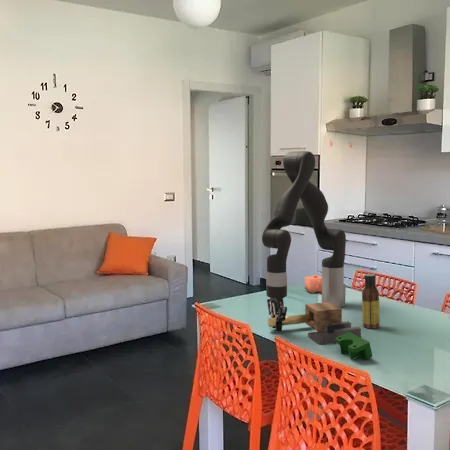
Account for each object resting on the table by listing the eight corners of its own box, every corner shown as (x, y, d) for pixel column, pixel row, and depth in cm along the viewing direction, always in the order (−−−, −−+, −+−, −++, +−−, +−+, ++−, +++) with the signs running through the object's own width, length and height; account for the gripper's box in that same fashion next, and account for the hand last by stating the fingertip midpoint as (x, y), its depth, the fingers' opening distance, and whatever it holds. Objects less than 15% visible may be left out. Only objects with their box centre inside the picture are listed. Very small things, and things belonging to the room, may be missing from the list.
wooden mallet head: (328, 320, 203) (328, 301, 202) (341, 328, 194) (341, 308, 193) (305, 323, 200) (305, 304, 199) (317, 331, 191) (317, 311, 190)
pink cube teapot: (317, 288, 256) (317, 271, 255) (327, 294, 245) (327, 276, 244) (302, 289, 255) (302, 272, 254) (311, 295, 243) (311, 278, 242)
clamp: (342, 365, 170) (331, 338, 171) (357, 358, 172) (346, 332, 173) (360, 364, 159) (347, 335, 160) (376, 356, 160) (363, 328, 162)
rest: (347, 331, 189) (348, 321, 189) (361, 339, 181) (361, 328, 180) (307, 336, 185) (307, 325, 184) (319, 345, 176) (319, 333, 176)
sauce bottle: (380, 325, 197) (381, 273, 194) (379, 330, 191) (380, 276, 189) (362, 323, 199) (362, 272, 197) (360, 328, 193) (361, 275, 191)
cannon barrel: (307, 320, 197) (307, 312, 196) (310, 323, 194) (311, 315, 193) (267, 325, 192) (267, 317, 191) (270, 328, 189) (271, 320, 188)
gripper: (294, 286, 184) (294, 334, 186) (278, 278, 197) (278, 323, 199) (274, 288, 182) (274, 336, 184) (260, 280, 195) (260, 325, 197)
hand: (276, 329), depth 191 cm, fingers closed on cannon barrel, 3 cm apart
